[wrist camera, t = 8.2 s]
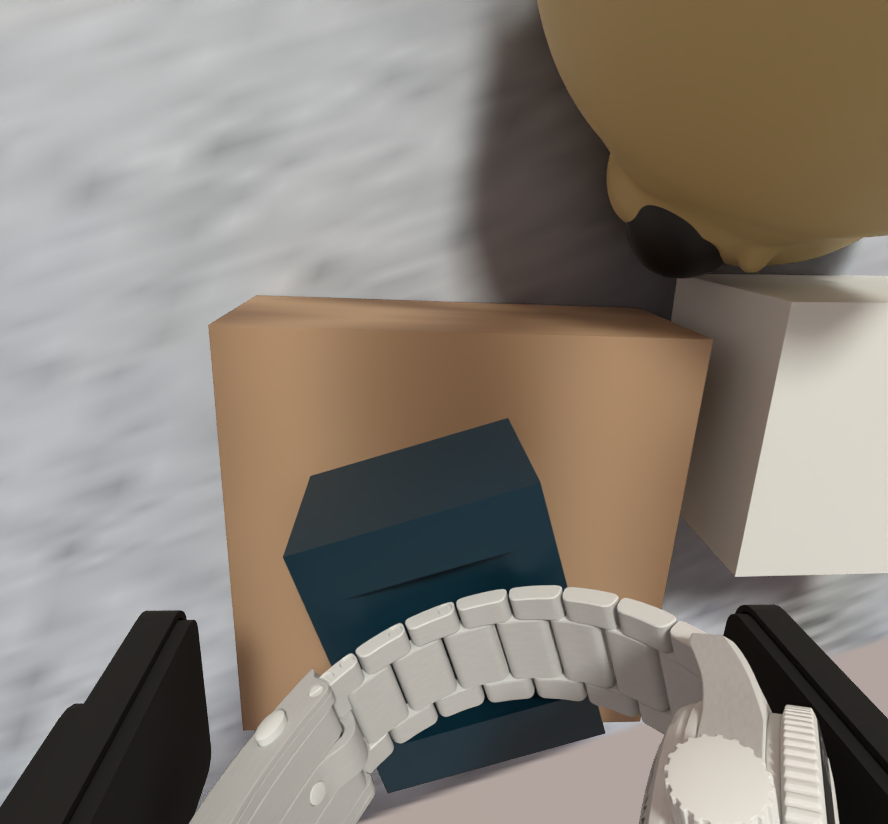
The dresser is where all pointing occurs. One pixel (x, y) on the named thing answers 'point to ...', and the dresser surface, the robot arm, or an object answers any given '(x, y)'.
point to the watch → (496, 658)
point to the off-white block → (790, 422)
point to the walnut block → (441, 414)
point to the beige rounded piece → (733, 123)
